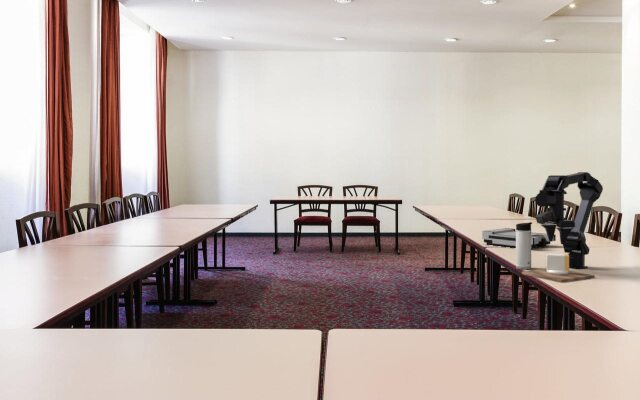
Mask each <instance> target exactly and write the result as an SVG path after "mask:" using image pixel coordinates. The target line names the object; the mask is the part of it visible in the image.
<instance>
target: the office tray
mask: <svg viewBox="0 0 640 400" xmlns="http://www.w3.org/2000/svg"><path fill="white" fill-rule="evenodd" d="M481 236H482V240H483V243H486V246H489V245H493V246H492V247H498V246H501V248H506V247H510V248H509V249H514V248H516V228H510V227H503V228H495V229H487V230H481ZM556 237H557V236H556V234H554V237H553V240H552V242H556V241H557V240H556ZM547 245H551V242H550V241H549V239H548V236H547V233H540V232H532V231H531V248H532V249H533V248H544V247H543V246H545V247H547ZM535 246H537V247H535Z"/></svg>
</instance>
